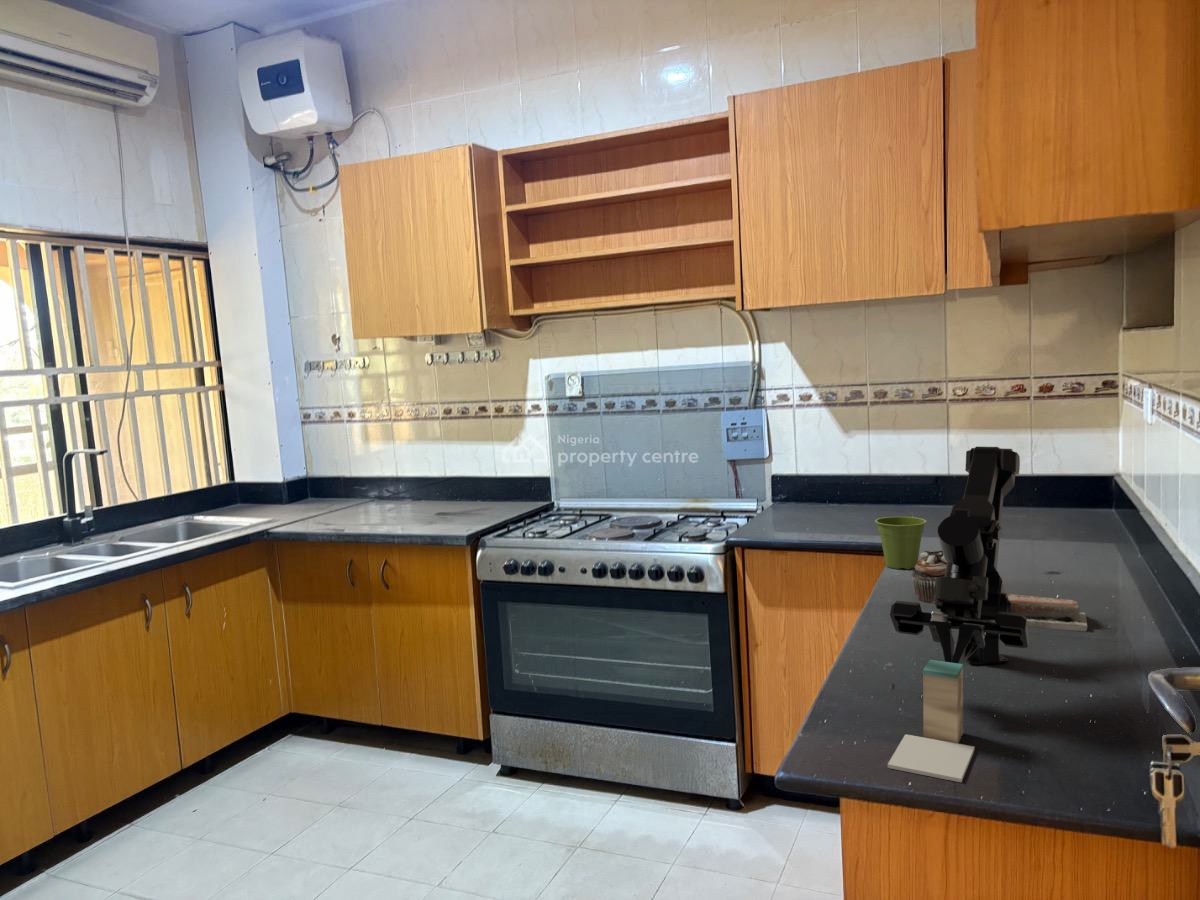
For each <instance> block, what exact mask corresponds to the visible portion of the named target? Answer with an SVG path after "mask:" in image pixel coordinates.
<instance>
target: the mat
mask: <svg viewBox="0 0 1200 900" xmlns="http://www.w3.org/2000/svg"><path fill="white" fill-rule="evenodd" d="M975 748H976V747H975V746H974V745H967V744H963V743H958V744H957V743H952V742H946V741H941V740H935V739H929V738H924V736H917V735H911V734H904V736H903V738H902V739H901V741H900V742H899V744H898V746H897V747H896V749H895V751H894V753H893V754H892V756H891V757H890V760H889V761H888V763H887V769H891V770H892V769H893V770H896V771H902V772H907V773H911V774H916V775H921V776H925V777H927V776H928V777H932V778H936V779H941V780H947V781H952V782H957V783H963V779H964V777H965V774H966V773H967V770H968V768H969V764H970V763H971V760H972V758H973V756H974V753H975V750H976V749H975Z"/></svg>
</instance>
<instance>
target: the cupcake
mask: <svg viewBox="0 0 1200 900" xmlns="http://www.w3.org/2000/svg"><path fill="white" fill-rule="evenodd" d="M919 555H920V556H919V557H920V559H918V563H917V564H916V565H915V568H914V570H913V572H912V575H911V580H912V585H913V591H914V595H915V599H916V600H917V601H919V602H922V603H926V604H935V605H936V599H935V592H936V580H937V577H945V572H946V565H947V561H946V560H945V558H944V555H943V551H942V550H936V551H929V550H924V552H920V553H919Z"/></svg>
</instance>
